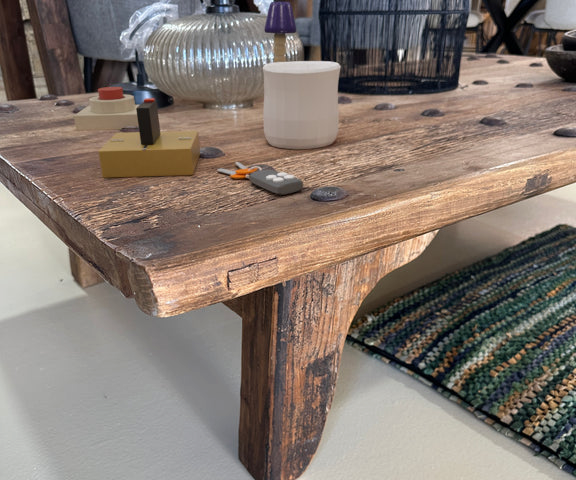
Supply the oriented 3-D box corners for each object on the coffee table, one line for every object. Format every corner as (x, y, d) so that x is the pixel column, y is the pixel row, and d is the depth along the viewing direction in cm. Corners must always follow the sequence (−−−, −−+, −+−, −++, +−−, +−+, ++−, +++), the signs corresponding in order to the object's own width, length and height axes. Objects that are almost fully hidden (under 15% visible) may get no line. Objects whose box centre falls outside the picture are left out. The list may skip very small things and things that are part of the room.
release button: (97, 102, 86) (95, 90, 85) (102, 98, 89) (101, 87, 88) (121, 102, 86) (119, 90, 85) (126, 98, 89) (124, 86, 88)
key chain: (307, 190, 58) (307, 176, 57) (278, 198, 56) (277, 183, 55) (237, 164, 67) (236, 152, 66) (210, 170, 65) (209, 157, 64)
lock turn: (153, 144, 64) (148, 105, 62) (140, 145, 64) (135, 105, 62) (160, 134, 68) (156, 97, 66) (148, 135, 68) (144, 98, 66)
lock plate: (102, 178, 63) (97, 149, 62) (120, 156, 71) (116, 131, 70) (193, 175, 63) (190, 147, 62) (200, 154, 72) (198, 128, 70)
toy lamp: (276, 117, 92) (273, 1, 84) (302, 119, 90) (301, 1, 82) (261, 122, 88) (256, 2, 81) (287, 125, 86) (285, 1, 79)
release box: (76, 130, 85) (71, 103, 84) (90, 120, 92) (85, 94, 91) (143, 128, 86) (139, 101, 84) (152, 118, 93) (148, 92, 91)
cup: (251, 140, 78) (247, 64, 73) (311, 130, 83) (311, 58, 78) (288, 154, 71) (287, 71, 66) (351, 142, 76) (354, 64, 71)
